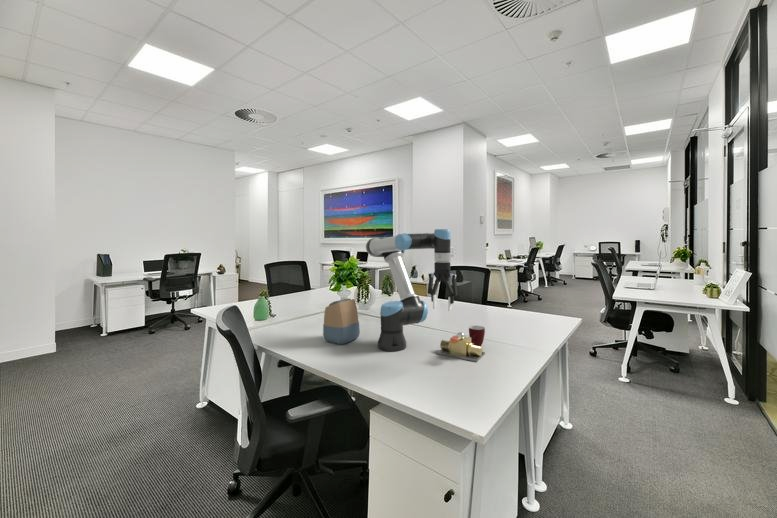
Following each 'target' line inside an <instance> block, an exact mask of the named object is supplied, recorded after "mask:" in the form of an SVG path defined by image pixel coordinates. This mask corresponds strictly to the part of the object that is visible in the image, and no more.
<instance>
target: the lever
mask: <svg viewBox="0 0 777 518" xmlns="http://www.w3.org/2000/svg"><path fill="white" fill-rule="evenodd" d="M464 336H465V332H457V334H456V336H455V335H453V336H452V337H449V340H450V343H454V344H455V343H457V342H458V341H459V340H460V339H464Z"/></svg>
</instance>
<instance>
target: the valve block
mask: <svg viewBox="0 0 777 518" xmlns="http://www.w3.org/2000/svg"><path fill="white" fill-rule="evenodd" d="M456 335H457V334H456ZM456 335H454V336H456ZM439 346H440V347H439V348H440V349H439V350H438V351H437V352H436V354H437V355H439V356H445V357H451V358H456V359H461V360H465V361H471V362H475V363H478V362H479V361H480V359H482V358H483V357H484V355H486V352H485V351H483V346H482V345H481V346H475V345H474V344H473V343H471V337H470V336H465V335H464V339H460V340H459V341H458V342H457V343H455V344H454V343H450V339H449V340H445V339H442V340H441V341H440V345H439Z"/></svg>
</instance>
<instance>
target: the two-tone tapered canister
mask: <svg viewBox="0 0 777 518" xmlns="http://www.w3.org/2000/svg"><path fill="white" fill-rule="evenodd" d="M322 326H323V327H322V330H323V331H322V335H323V339H324V340H325V341H327V342H329V343H332V342H333V344H336V343H337V345H345V344H347V343H350V342H352V341H355V340H357V339H358V337H360V333H361V332H360V331H361V330H360V321H359V315H358V307H357V303H356V299H355V298H352V299H351V298H343V299H340V300H336V301H332V302H330V303H329V305H327V306H326V307H325V308H324V315H323V325H322Z"/></svg>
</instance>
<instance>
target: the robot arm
mask: <svg viewBox="0 0 777 518" xmlns="http://www.w3.org/2000/svg"><path fill="white" fill-rule="evenodd" d="M451 239H452V237H451V230H450V229H448V228H438V229H434V232H431V233H430V232H424V233H399V234H397V235H393V236H389V237H388V236H386V237H385V236H383V237H381V236H380V237H379V236H378V237H377V236H376V237H373V238H369V239H368V241H366V244H365V250H366V252H367V254H368V255H369V256H371V257H374V258H383V260H384V262H385V263H387V264H388V267H389V269H390V273H391V275H392V277H393V278H392V279H393V282H394V284H395V286H396V291H397V292H398V296H399V299H400V300H393V301H392V300H391V301H387V302H385V303H383V304H381V306H380V313H379V315H380V334H379V338H378V341H377V348H378V349H379V350H381V351H385V352H399V351H403V350H405V349H407V341H406V336H405V334H404V326H409V325H414V324H419V323H420V324H421V323H423V322H424V321H426V319H427V318H428V314H429V310H428V305H427V303H426V301H424V300H421V299H420V296H419V295H418V294H416V293H415V291H414V290H415V289H414V288H413V284H412V283H411V279H410V277H409V274H408V271H407V269H406V266H405V263H404V259H403V257H404V254H405V251H407V250H424V249H425V250H426V249H427V250H428V249H430V250H433V249H434V254H433V256H434V264H433V265H434V272H433V273H432V272H430V273H428V274H427V275H428V285H427V295H428V294H429V295H431V296H430V297H431V302H432V309H433V310H436V309H437V308H438V302H437V301H438V295H437V294H436V292H437V289H438V287H439V285H440V282H444V284H445V286H446V289H447V291H448V294H449V296H448V297H447V298H448V300H447V301H448V302H447V303H448V305H447V308H448V310H447V311H448V312H450V311H452V310H453V304H454V303H455V301H454V300H455V297H456V296H458V295H459V292H458V284H457V274H456V273H455V274H453V273H452V272H451V262H450V261H451ZM434 277H435V280H434ZM450 278H451V280H450Z"/></svg>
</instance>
